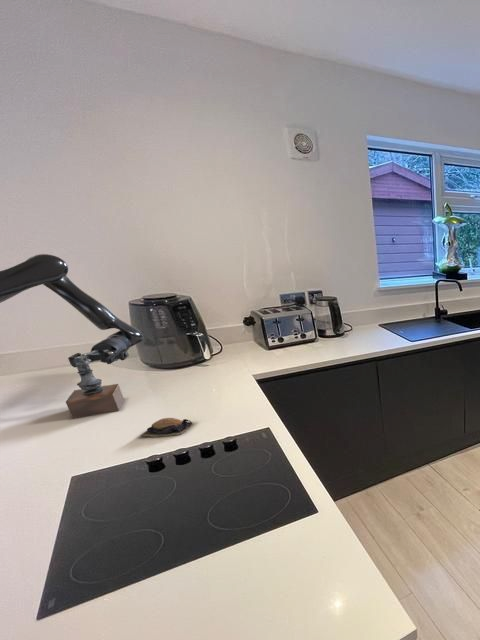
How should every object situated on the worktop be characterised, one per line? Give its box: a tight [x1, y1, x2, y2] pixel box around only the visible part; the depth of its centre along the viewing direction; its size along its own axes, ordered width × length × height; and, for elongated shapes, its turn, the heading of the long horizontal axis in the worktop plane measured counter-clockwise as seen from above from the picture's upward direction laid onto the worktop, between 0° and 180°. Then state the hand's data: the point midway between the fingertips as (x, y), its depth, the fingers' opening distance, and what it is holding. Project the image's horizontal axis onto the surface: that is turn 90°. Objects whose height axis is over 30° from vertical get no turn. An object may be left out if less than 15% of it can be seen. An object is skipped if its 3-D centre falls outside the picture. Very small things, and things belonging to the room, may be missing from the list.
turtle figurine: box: [141, 417, 194, 438], centre depth 122 cm, size 11×8×4 cm
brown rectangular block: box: [65, 383, 125, 420], centre depth 134 cm, size 11×11×6 cm
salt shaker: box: [76, 358, 104, 395], centre depth 130 cm, size 6×6×12 cm
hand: (91, 363), depth 134 cm, fingers open, 8 cm apart
